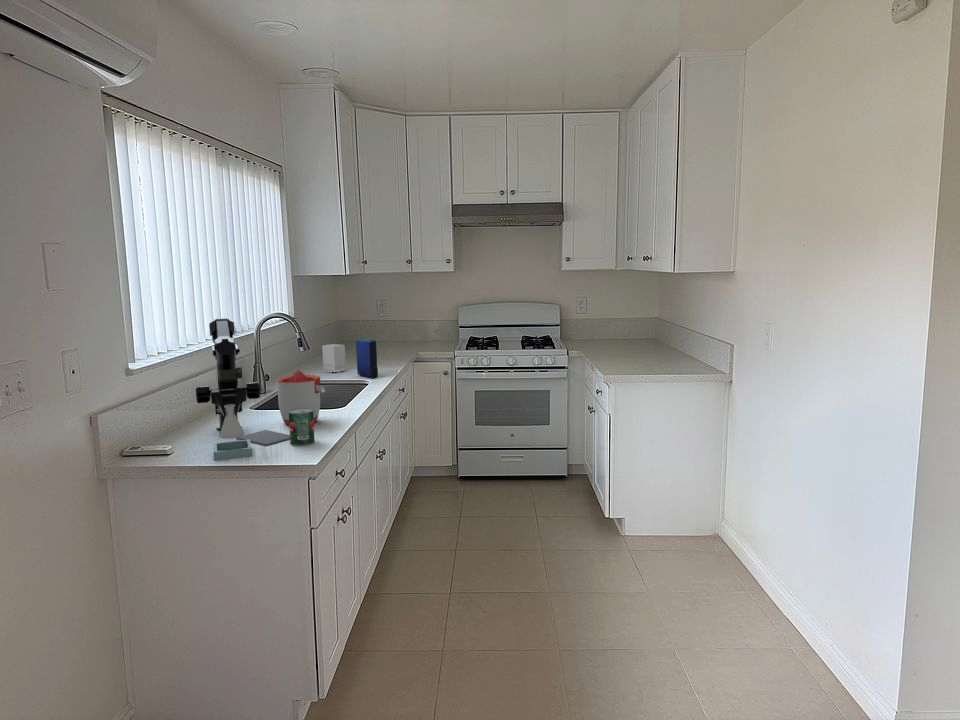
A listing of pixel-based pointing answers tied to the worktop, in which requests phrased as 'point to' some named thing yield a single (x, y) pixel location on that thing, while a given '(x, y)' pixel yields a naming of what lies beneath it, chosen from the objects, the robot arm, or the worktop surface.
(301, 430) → the canned tomato
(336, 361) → the supplement box
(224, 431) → the flask
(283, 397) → the citrus juicer
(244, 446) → the shallow square tray
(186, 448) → the worktop surface
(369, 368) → the book
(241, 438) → the mat
